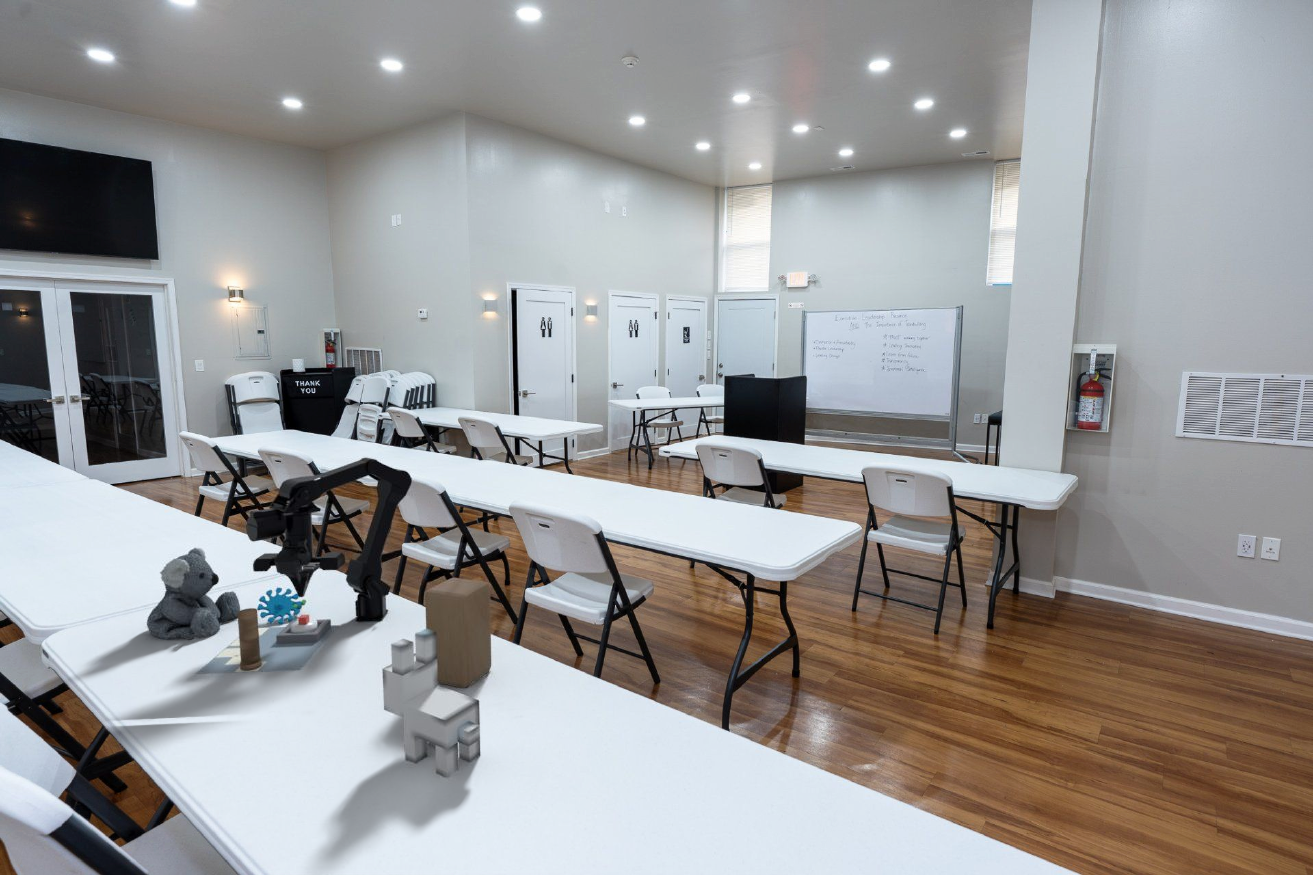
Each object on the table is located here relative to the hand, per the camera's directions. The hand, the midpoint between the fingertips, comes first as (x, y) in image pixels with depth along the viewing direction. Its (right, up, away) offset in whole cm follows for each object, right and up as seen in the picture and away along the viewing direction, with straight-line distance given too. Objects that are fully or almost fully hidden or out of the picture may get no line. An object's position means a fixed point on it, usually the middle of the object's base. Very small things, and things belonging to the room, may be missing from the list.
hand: (301, 596), depth 161 cm
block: (+42, -13, -16) cm, 47 cm away
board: (-4, -11, -5) cm, 13 cm away
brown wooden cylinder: (-3, -12, -15) cm, 19 cm away
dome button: (0, -9, +1) cm, 9 cm away
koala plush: (-31, -10, +6) cm, 33 cm away
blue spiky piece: (-12, -9, +13) cm, 20 cm away
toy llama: (+47, -17, -44) cm, 67 cm away
